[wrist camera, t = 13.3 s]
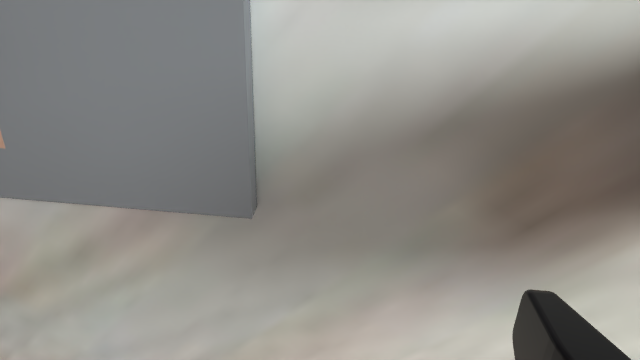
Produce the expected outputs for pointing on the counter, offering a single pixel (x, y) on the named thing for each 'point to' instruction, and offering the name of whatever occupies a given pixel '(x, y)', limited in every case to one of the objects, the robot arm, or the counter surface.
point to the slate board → (128, 104)
